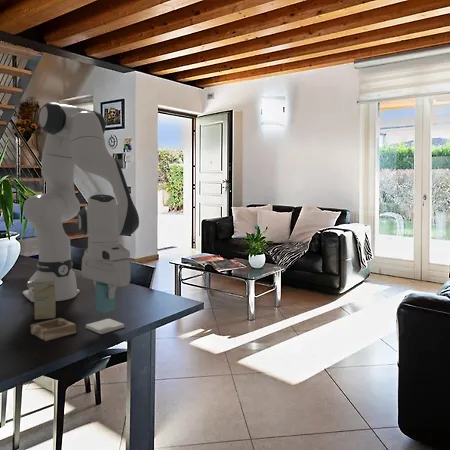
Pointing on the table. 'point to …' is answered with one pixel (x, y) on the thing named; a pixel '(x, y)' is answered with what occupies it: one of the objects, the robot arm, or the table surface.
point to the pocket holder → (53, 329)
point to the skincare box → (44, 298)
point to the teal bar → (103, 298)
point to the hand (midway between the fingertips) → (105, 296)
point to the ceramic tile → (104, 326)
